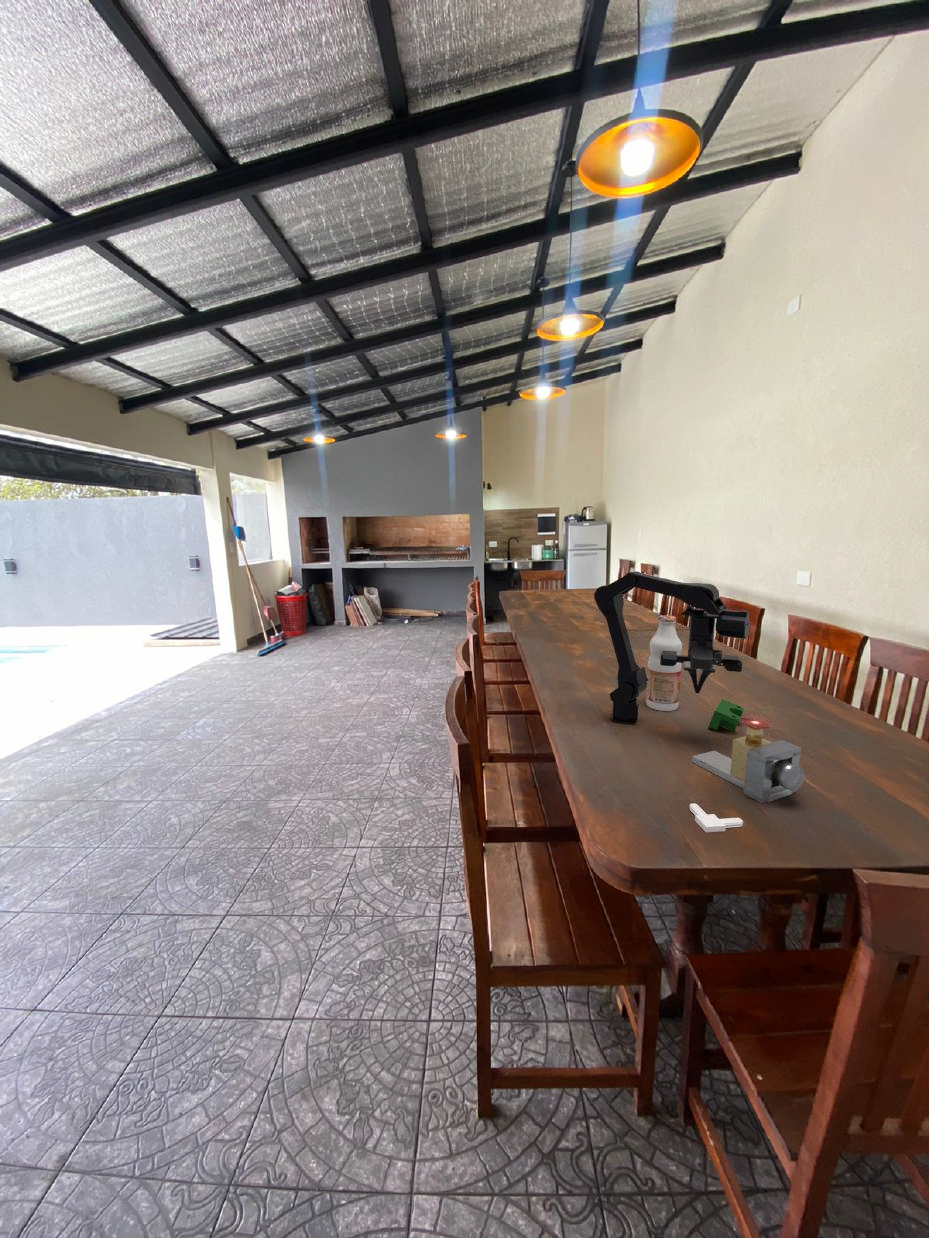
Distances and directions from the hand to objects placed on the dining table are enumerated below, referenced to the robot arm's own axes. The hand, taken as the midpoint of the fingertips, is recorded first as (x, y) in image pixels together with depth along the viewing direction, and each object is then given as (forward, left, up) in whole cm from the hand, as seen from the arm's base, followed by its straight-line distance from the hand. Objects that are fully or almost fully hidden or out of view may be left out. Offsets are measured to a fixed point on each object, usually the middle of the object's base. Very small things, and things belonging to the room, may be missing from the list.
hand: (697, 692), depth 130 cm
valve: (+11, -23, -10) cm, 27 cm away
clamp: (+8, +11, -12) cm, 18 cm away
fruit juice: (-8, +21, -12) cm, 26 cm away
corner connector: (+2, -39, -13) cm, 41 cm away
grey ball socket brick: (+9, -21, -12) cm, 26 cm away
